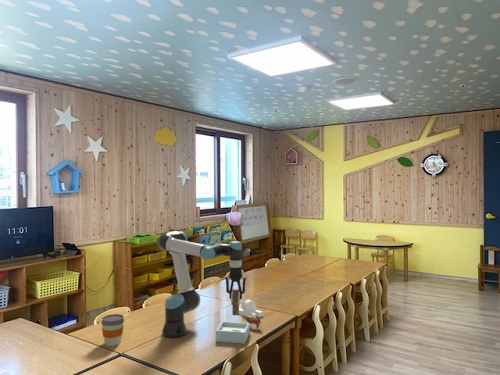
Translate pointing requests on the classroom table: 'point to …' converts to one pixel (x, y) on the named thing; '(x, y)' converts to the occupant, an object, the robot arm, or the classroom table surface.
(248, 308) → the white rounded shape
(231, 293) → the robot arm
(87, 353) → the classroom table surface
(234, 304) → the walnut peg
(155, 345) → the classroom table surface
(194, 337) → the classroom table surface
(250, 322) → the bull figurine
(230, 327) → the blue box
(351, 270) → the classroom table surface
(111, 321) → the reusable coffee cup
